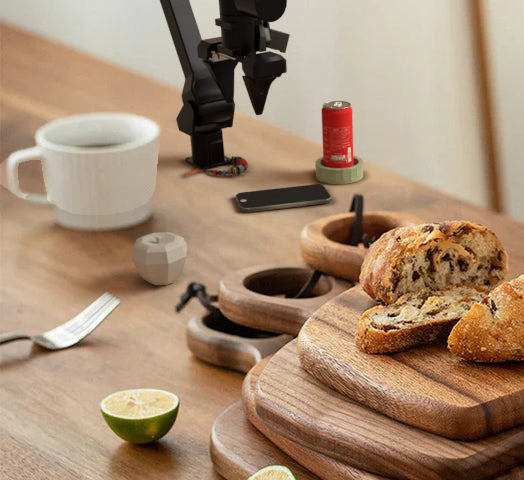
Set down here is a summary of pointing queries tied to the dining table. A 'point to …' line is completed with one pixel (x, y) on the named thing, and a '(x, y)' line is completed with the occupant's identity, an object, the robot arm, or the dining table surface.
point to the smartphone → (283, 198)
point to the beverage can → (337, 134)
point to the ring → (339, 172)
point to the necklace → (237, 170)
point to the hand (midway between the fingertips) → (244, 108)
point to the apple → (160, 257)
